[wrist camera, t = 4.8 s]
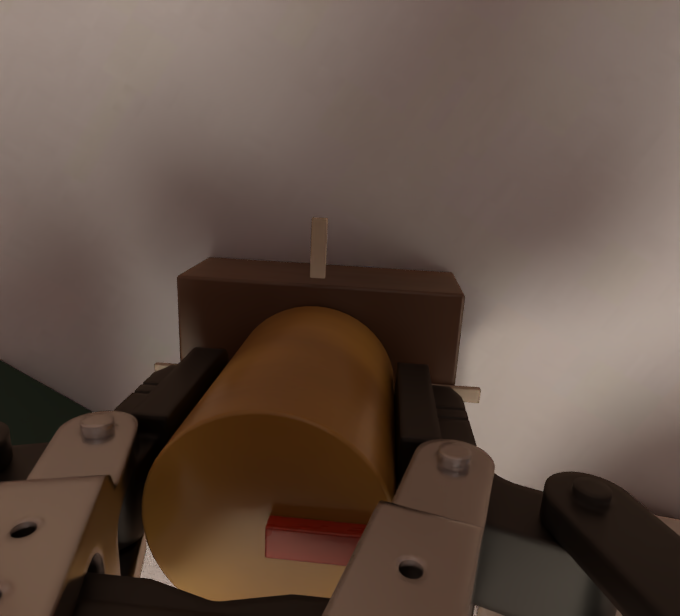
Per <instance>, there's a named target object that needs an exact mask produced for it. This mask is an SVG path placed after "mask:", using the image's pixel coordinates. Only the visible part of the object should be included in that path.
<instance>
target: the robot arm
mask: <svg viewBox="0 0 680 616" xmlns="http://www.w3.org/2000/svg"><path fill="white" fill-rule="evenodd" d="M228 363H229V356H228V352H227V350H226V349H215V348H202V347H195V348H193V349H192V350H191V351H190V352H189V353H188V355H187V356H186V357H185V358H184V359H183V360H182V361H181V362H180V363H179V364H178V365H169V366H167V367H165V368H163V369H161V370H158V371H156V372H154V373H153V374H152V375H151V376H150V377H149V378H148V379H146V380H145V381H144V382H143V384H141V385H140V386H139V387H138V388H137V389H136V390H135V392H134V393H132V394H131V395H129V396H128V397H127V398H126V399H125V400H124V401H123V402H122V403H121V404H120V405H119V406H118V407H117V408H116V409H115V410H114V411H98V412H92V413H87V414H84V415H81V416H78V417H75V418H73V419H71V420H69V421H67V422H66V423H64V424H63V425H62V426H60V427H59V429H58V430H57V431H56V433H55V434H54V436H53V438H52V439H51V441H50V442H46V443H35V444H23V445H11V438H10V431H9V427H8V425H6V424H5V423H3V422H1V421H0V616H473V612H474V606H475V605H477V606H480V607H482V608H485V609H488V610H490V611H493V612H496V613H498V614H501V615H504V616H615V615H616V611H617V610H618V611H619V612H620V613H621V614H622V616H680V536H679V535H678V534H677V533H676V532H675V531H673V530H672V529H671V528H670V527H669V526H667V525H666V524H665V523H664V522H663V521H661V520H660V519H659V518H658V517H657V516H655V515H654V514H653V513H652V512H651V511H649V510H648V509H647V508H646V507H645V506H643V505H642V504H641V503H640V502H639V501H637V500H636V499H635V498H634V497H633V496H631V495H630V494H629V493H628V492H626V491H625V490H624V489H622V488H621V487H619V486H618V485H616V484H614V483H612V482H610V481H608V480H606V479H603V478H601V477H598V476H594V475H591V474H586V473H581V472H560V473H556V474H553V475H552V476H550V477H549V478H548V479H547V480H546V482H545V485H544V491H543V492H542V491H539V490H535V489H531V488H528V487H524V486H521V485H518V484H515V483H512V482H510V481H507V480H505V479H503V478H501V477H499V476H498V475H496V474H494V470H495V464H494V461H493V460H492V458H491V457H490V456H489V455H488V454H487V453H486V452H485V451H484V450H482V449H480V448H479V447H477V446H476V443H475V439H474V436H473V433H472V429H471V426H470V422H469V421H468V416H467V412H466V411H465V406H464V402H463V399H462V397H461V396H460V395H459V394H458V393H457V392H456V391H454V390H453V389H452V388H451V387H450V386H437V385H432V382H431V377H430V372H429V366H428V365H425V364H412V363H399V362H398V363H397V369H396V381H395V393H394V402H395V447H396V494H395V496H394V498H393V500H392V502H388V501H384V500H380V501H379V502H378V504H377V505H376V507H375V509H374V511H373V513H372V515H371V517H370V519H369V521H368V523H367V525H366V527H365V529H364V531H363V533H362V536H361V538H360V540H359V542H358V544H357V546H356V548H355V550H354V552H353V554H352V556H351V558H350V560H349V562H348V564H347V566H346V568H345V570H344V572H343V574H342V576H341V578H340V580H339V582H338V584H337V586H336V588H335V590H334V592H333V594H332V596H331V598H324V597H315V596H306V595H296V594H288V595H278V596H268V597H259V598H249V599H239V600H229V601H211V600H208V599H205V598H202V597H199V596H197V595H194V594H191V593H188V592H186V591H183V590H180V589H177V588H174V587H172V586H169V585H166V584H163V583H161V582H158V581H155V580H152V579H147V578H140V575H141V571H142V566H143V562H144V557H145V553H146V546H147V545H146V536H145V533H144V529H143V522H142V495H143V489H144V484H145V481H146V478H147V475H148V472H149V470H150V468H151V466H152V464H153V462H154V460H155V459H156V457H157V456H158V455H159V453H160V452H161V451H162V449H163V448H164V446H165V445H166V444H167V443H168V441H169V440H170V439H171V437H172V436H173V435H174V433H175V432H176V431H177V429H178V428H179V427H180V426H181V424H182V423H183V422H184V420H185V419H186V418H187V416H188V415H189V414H190V412H191V411H192V410H193V408H194V407H195V406H196V405H197V403H198V402H199V401H200V399H201V398H202V397H203V395H204V394H205V393H206V391H207V390H208V389H209V387H210V386H211V385H212V384H213V382H214V381H215V380H216V378H217V377H218V376H219V374H220V373H221V372H222V370H223V369H224V368H225V367H226V365H227V364H228Z"/></svg>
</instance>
